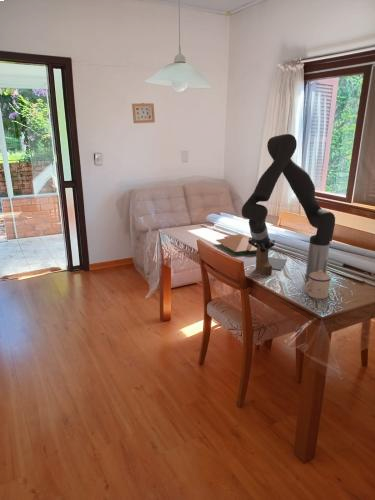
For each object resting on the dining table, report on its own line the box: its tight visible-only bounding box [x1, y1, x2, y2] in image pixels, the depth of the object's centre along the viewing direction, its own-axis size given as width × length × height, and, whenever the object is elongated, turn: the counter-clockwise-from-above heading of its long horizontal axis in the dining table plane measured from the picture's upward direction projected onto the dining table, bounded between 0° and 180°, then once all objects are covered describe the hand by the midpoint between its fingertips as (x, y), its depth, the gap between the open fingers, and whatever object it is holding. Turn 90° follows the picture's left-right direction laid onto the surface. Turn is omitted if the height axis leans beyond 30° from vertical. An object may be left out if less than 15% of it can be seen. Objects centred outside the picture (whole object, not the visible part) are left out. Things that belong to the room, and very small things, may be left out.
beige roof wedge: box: [215, 233, 257, 256], centre depth 226 cm, size 23×33×8 cm
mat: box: [268, 256, 288, 271], centre depth 200 cm, size 13×18×1 cm
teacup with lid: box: [304, 270, 332, 300], centre depth 159 cm, size 12×9×12 cm
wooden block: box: [255, 247, 273, 276], centre depth 185 cm, size 9×4×18 cm, turn 19°
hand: (263, 250), depth 180 cm, fingers closed
